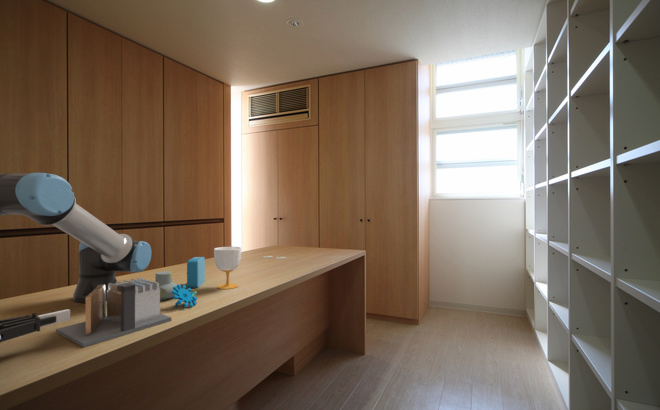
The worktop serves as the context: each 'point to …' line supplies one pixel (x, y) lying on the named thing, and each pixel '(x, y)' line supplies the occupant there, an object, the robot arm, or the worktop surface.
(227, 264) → the cup
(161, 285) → the air freshener
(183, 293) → the gear
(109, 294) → the heat sink
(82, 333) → the cooler board
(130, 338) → the worktop surface
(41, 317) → the robot arm
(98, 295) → the bar
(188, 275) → the data package
